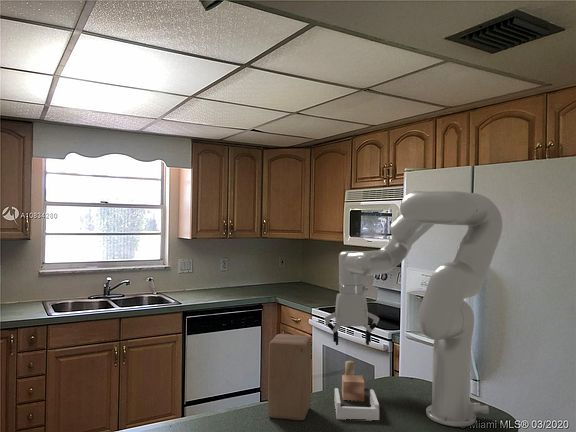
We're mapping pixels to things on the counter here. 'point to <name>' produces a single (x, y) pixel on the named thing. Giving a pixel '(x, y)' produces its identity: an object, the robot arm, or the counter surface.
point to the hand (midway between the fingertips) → (352, 344)
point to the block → (352, 384)
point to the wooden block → (289, 376)
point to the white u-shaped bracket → (357, 409)
